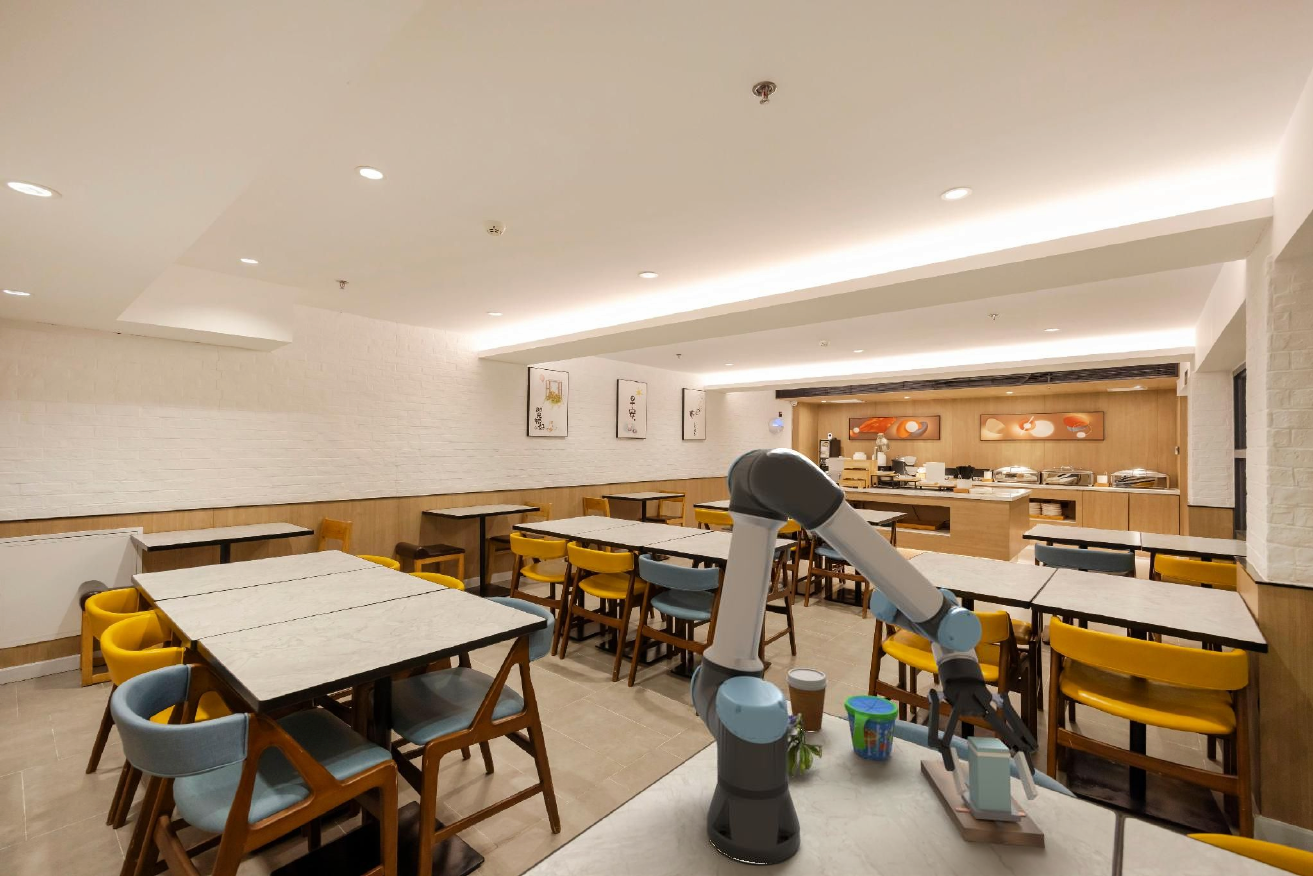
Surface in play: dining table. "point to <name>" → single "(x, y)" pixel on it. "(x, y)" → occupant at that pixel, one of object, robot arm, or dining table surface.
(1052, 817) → the dining table surface
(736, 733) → the robot arm
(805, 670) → the disposable coffee cup
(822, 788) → the dining table surface
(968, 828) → the fader track
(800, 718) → the passion flower
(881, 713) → the snack cup
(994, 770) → the cap
